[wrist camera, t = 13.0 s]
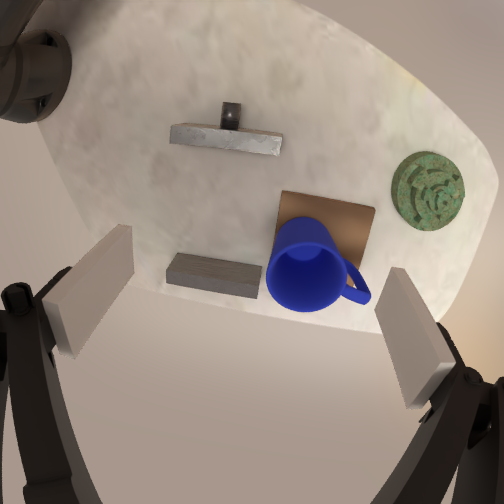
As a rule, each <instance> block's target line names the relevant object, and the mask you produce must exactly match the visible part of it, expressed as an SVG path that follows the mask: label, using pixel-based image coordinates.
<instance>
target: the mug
mask: <svg viewBox="0 0 504 504" xmlns="http://www.w3.org/2000/svg"><path fill="white" fill-rule="evenodd" d="M347 273H348V274H349V276H350V277H351V279H352V280H353V282H354V284H355V286H356V288H357V289H356V288H354V287H351V286H349V285H348V284H347V283H346V282H347ZM266 284H267V287H268V290H269V292H270V294H271V295H272V297H273V298H274V299H275V300H276V301H277V302H278V303H279V304H280V305H282V306H284V307H285V308H288V309H290V310H293V311H297V312H313V311H318V310H321V309H323V308H326V307H327V306H329V305H331V304H332V303H334V302H335V301H336V300H337V299H338V298H339V297H340V295H342V296H343V297H345V298H347V299H349V300H351V301H354V302H356V303H359V304H363V305H365V304H367V303H368V302H369V300H370V299H371V293H370V291H369V289H368V287H367V285H366V283H365V281H364V279H363V277H362V276H361V274H360V272H359V271H358V270H357V268H356V267H355V266H354V265H353V264H352V263H351V262H349V261H348V260H346V259H344V258H342V256H341V254H340V252H339V250H338V248H337V247H336V245H335V243H334V241H333V239H332V237H331V235H330V233H329V231H328V230H327V228H326V227H325V226H324V225H323V224H322V223H321V222H319V221H317V220H315V219H313V218H309V217H298V218H294V219H292V220H290V221H288V222H287V223H285V224H284V225H283V226H282V227H281V229H280V230H279V232H278V234H277V236H276V240H275V243H274V247H273V250H272V254H271V257H270V261H269V264H268V268H267V272H266Z"/></svg>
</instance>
